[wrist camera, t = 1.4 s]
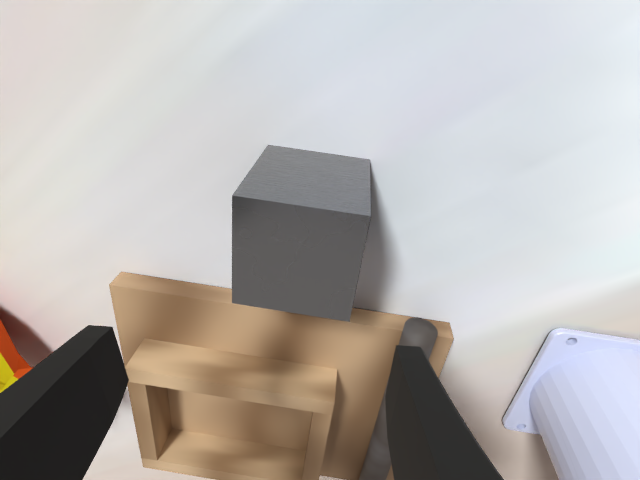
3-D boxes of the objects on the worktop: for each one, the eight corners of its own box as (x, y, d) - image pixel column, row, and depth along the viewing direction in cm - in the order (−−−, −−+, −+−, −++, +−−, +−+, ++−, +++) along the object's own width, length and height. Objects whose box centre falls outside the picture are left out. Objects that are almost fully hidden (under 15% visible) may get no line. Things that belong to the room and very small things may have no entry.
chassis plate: (454, 308, 21) (469, 357, 18) (392, 478, 29) (394, 530, 26) (118, 256, 22) (79, 295, 19) (149, 437, 30) (125, 484, 27)
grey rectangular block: (369, 159, 18) (371, 216, 13) (353, 246, 20) (349, 321, 15) (268, 144, 18) (232, 195, 13) (263, 232, 20) (231, 303, 15)
